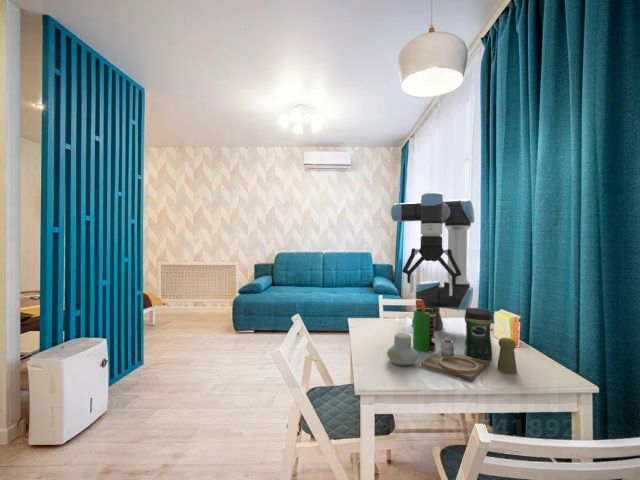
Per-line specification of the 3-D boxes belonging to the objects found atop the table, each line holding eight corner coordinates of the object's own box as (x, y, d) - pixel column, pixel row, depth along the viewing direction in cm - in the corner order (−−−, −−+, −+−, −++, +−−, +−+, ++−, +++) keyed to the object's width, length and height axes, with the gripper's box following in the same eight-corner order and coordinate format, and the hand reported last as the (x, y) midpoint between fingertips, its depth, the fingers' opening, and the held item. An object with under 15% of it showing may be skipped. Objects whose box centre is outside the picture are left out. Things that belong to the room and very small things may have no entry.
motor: (437, 353, 126) (437, 303, 126) (413, 351, 128) (414, 302, 127) (433, 345, 136) (434, 298, 136) (411, 343, 138) (412, 297, 137)
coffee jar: (491, 354, 125) (491, 307, 125) (493, 362, 118) (493, 311, 117) (463, 351, 129) (464, 305, 129) (464, 357, 121) (464, 309, 121)
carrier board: (441, 353, 126) (441, 334, 126) (488, 365, 114) (488, 344, 114) (420, 366, 113) (420, 345, 113) (471, 381, 101) (471, 358, 101)
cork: (510, 375, 106) (510, 342, 106) (493, 368, 111) (493, 337, 111) (521, 372, 109) (521, 340, 109) (503, 365, 114) (504, 335, 114)
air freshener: (383, 360, 118) (383, 333, 118) (397, 355, 123) (398, 330, 123) (407, 370, 110) (407, 341, 109) (422, 364, 115) (422, 337, 114)
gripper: (394, 235, 118) (394, 292, 119) (468, 235, 107) (468, 298, 107) (399, 235, 125) (398, 289, 125) (469, 235, 114) (468, 295, 114)
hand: (430, 293), depth 116 cm, fingers open, 13 cm apart
